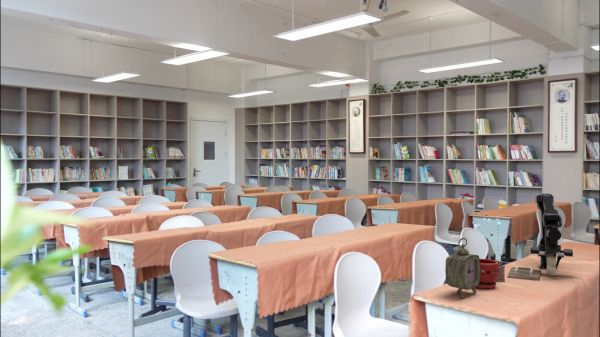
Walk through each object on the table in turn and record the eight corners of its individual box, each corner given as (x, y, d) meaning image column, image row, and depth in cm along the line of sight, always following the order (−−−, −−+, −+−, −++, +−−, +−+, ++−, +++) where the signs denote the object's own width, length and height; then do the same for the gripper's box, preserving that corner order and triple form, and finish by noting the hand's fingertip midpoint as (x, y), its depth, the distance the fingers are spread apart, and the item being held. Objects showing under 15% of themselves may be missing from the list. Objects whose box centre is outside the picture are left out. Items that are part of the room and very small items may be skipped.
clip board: (511, 269, 258) (511, 262, 258) (541, 271, 251) (541, 264, 251) (507, 277, 240) (507, 270, 240) (538, 280, 234) (538, 273, 233)
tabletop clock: (463, 300, 205) (462, 241, 204) (444, 295, 212) (443, 238, 211) (480, 293, 215) (480, 237, 214) (461, 289, 221) (461, 234, 221)
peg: (547, 273, 246) (547, 255, 246) (556, 274, 244) (556, 256, 244) (546, 275, 242) (546, 257, 242) (556, 275, 241) (555, 257, 240)
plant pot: (499, 291, 218) (499, 264, 217) (468, 288, 222) (468, 262, 222) (498, 283, 230) (498, 258, 230) (468, 281, 234) (468, 257, 234)
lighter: (503, 280, 236) (503, 259, 236) (506, 282, 232) (505, 261, 232) (486, 280, 237) (486, 259, 236) (488, 281, 233) (488, 261, 233)
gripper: (529, 238, 240) (529, 270, 241) (572, 241, 231) (573, 274, 232) (531, 235, 250) (531, 265, 250) (572, 237, 241) (572, 269, 241)
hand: (551, 268), depth 243 cm, fingers closed on peg, 4 cm apart
